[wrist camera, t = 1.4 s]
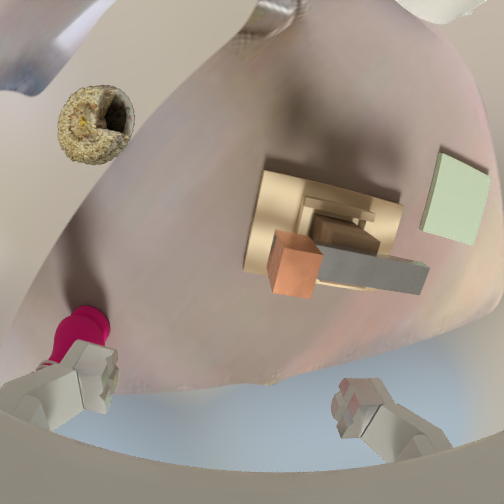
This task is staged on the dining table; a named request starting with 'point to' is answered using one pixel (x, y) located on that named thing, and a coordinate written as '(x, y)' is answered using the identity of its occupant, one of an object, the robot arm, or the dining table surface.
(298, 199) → the well board
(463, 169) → the sage pad
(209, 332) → the dining table surface
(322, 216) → the walnut block
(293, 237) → the bar
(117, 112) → the cake
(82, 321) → the pepper mill
